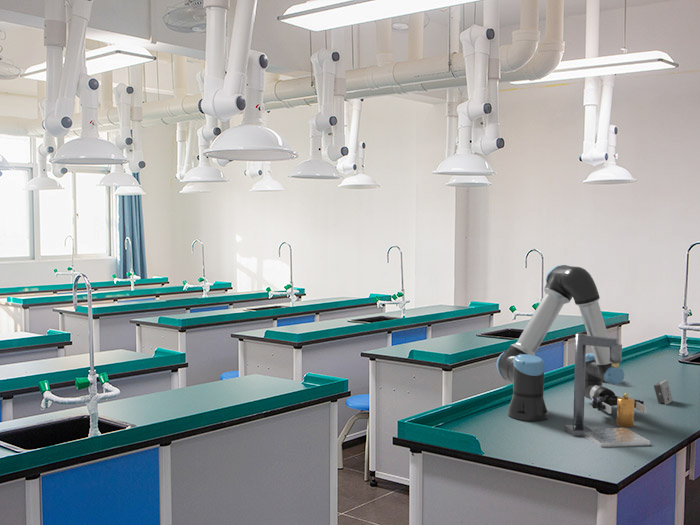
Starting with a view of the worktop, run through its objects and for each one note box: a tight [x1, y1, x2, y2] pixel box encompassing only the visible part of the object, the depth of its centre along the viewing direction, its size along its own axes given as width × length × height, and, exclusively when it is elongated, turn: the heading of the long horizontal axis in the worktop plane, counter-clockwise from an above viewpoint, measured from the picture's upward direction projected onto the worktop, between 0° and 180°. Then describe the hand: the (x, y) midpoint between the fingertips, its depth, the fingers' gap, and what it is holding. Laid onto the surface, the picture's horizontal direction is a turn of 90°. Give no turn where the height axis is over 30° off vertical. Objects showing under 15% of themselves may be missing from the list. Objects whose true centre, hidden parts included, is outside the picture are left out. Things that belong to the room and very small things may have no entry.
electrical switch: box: [653, 379, 674, 405], centre depth 297 cm, size 9×5×9 cm, turn 141°
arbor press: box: [564, 333, 651, 448], centre depth 244 cm, size 22×20×36 cm
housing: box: [616, 392, 635, 428], centre depth 261 cm, size 6×6×12 cm
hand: (627, 410), depth 260 cm, fingers open, 13 cm apart
